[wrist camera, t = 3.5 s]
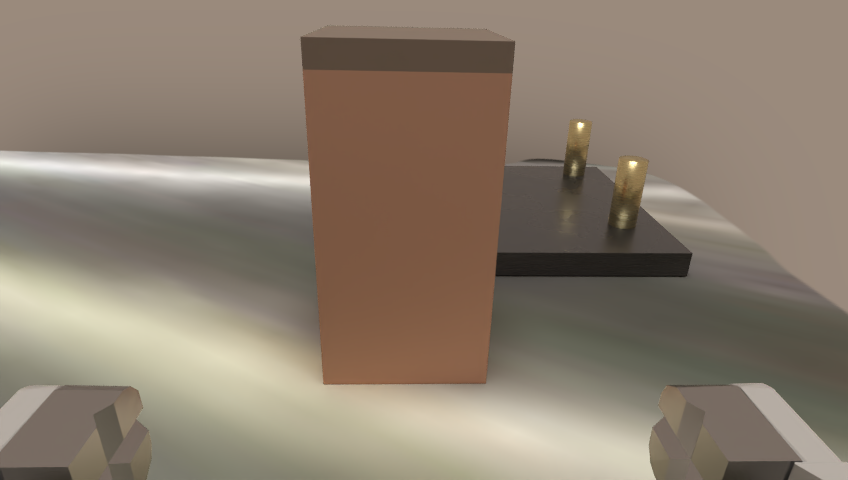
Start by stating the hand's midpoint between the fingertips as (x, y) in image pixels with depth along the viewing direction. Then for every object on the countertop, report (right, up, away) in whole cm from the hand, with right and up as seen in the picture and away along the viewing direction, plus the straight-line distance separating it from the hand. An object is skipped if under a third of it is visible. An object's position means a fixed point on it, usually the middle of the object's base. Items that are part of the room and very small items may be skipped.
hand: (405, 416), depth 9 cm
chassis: (+4, +4, +23) cm, 24 cm away
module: (0, -1, +12) cm, 12 cm away
